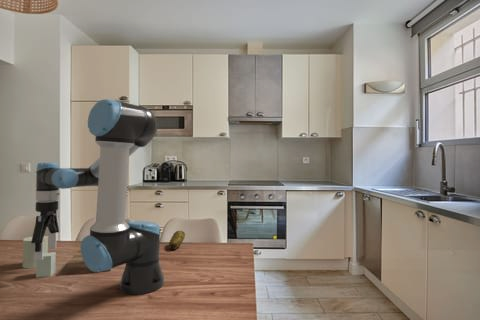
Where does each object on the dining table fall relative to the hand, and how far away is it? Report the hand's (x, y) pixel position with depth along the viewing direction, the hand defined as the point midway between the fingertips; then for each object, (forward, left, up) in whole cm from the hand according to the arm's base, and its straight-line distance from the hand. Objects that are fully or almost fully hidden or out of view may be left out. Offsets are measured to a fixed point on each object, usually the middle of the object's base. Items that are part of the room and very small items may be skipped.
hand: (45, 254), depth 114 cm
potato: (+26, -52, -8) cm, 59 cm away
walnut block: (+6, -16, -9) cm, 19 cm away
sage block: (0, 0, -8) cm, 8 cm away
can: (+14, +9, -8) cm, 18 cm away
